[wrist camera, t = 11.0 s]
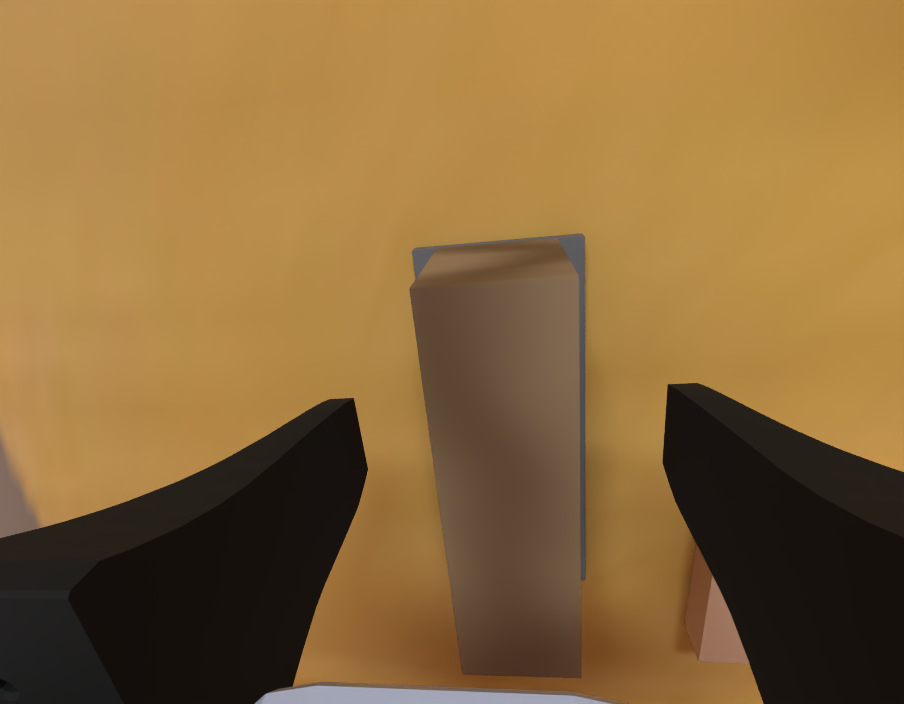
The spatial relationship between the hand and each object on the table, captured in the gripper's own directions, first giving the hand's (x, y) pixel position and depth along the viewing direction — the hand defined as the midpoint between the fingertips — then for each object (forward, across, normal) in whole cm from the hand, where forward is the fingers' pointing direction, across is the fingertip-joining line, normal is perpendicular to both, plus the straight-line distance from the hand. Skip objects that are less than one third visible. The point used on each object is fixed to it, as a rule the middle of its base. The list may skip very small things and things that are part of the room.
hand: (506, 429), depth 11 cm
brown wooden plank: (+4, 0, +2) cm, 5 cm away
